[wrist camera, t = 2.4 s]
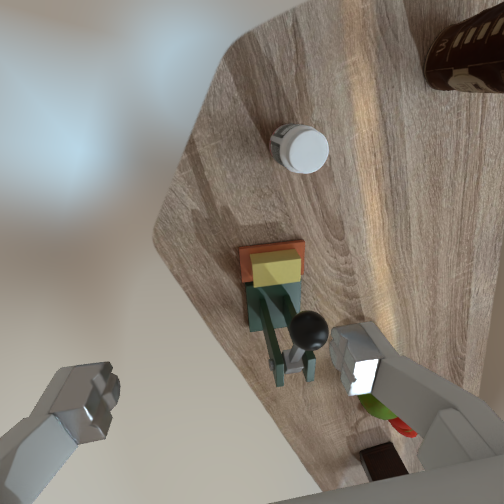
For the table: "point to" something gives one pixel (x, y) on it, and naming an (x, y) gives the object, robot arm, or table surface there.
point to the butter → (272, 263)
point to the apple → (375, 407)
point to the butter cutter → (276, 322)
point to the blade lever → (304, 339)
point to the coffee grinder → (382, 462)
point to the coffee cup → (469, 55)
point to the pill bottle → (299, 148)
